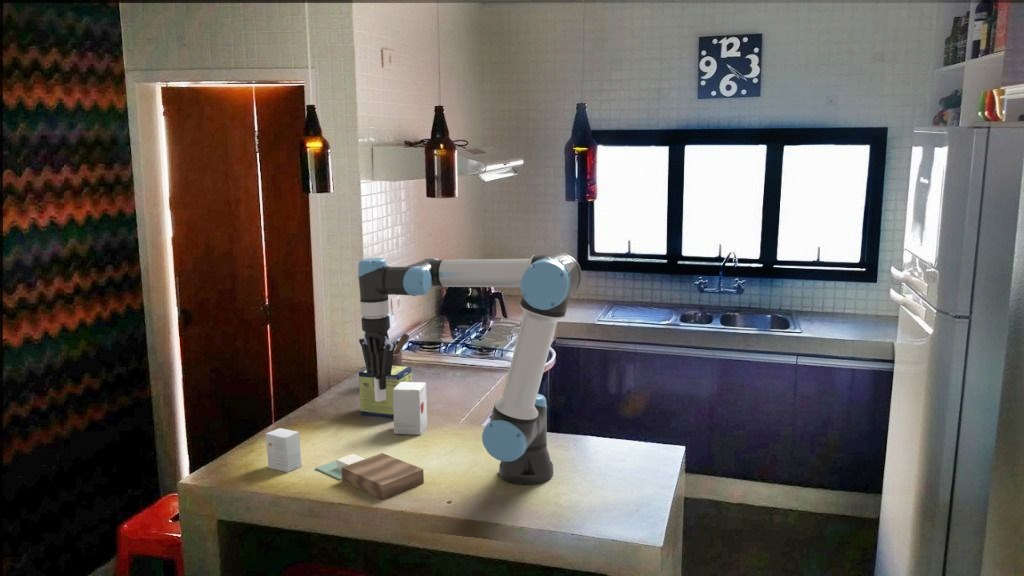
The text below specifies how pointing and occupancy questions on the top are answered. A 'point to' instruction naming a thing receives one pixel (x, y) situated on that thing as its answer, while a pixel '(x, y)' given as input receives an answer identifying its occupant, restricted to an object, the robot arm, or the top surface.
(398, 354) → the mortar and pestle
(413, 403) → the supplement box
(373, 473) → the plate
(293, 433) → the small box
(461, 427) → the top surface
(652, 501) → the top surface
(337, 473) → the mat
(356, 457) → the tile
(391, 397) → the protein box
